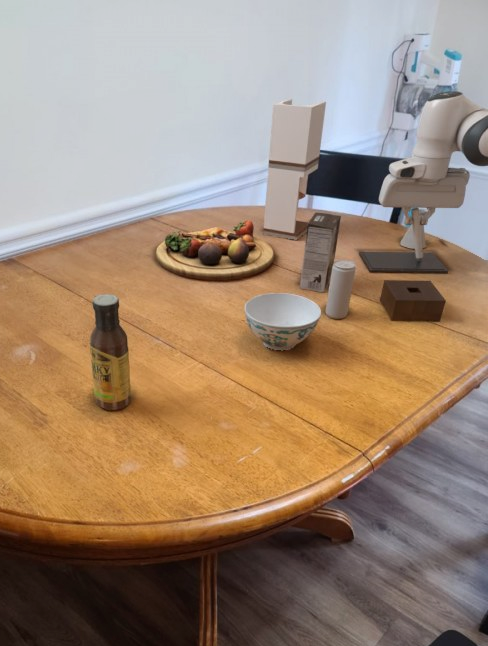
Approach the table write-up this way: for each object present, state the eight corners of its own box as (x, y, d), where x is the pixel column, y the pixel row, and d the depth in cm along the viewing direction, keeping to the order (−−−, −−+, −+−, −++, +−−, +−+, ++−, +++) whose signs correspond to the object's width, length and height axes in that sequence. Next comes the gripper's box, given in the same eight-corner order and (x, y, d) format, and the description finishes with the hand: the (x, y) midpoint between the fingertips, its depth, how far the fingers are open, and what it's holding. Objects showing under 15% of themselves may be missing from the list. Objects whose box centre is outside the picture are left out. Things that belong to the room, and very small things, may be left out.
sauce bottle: (89, 400, 99) (76, 296, 88) (118, 387, 102) (110, 285, 91) (108, 417, 95) (97, 310, 84) (139, 403, 98) (132, 299, 87)
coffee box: (306, 275, 144) (315, 211, 135) (332, 278, 142) (342, 214, 133) (298, 288, 138) (306, 223, 128) (324, 293, 136) (335, 226, 126)
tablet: (431, 255, 156) (432, 251, 155) (447, 273, 145) (448, 270, 145) (358, 254, 156) (359, 251, 156) (369, 272, 146) (370, 269, 145)
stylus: (422, 257, 151) (417, 207, 143) (424, 260, 149) (419, 209, 142) (415, 259, 151) (410, 209, 143) (417, 262, 149) (412, 211, 142)
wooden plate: (229, 231, 172) (231, 203, 167) (298, 265, 149) (301, 235, 145) (135, 251, 158) (134, 221, 153) (195, 292, 136) (195, 259, 131)
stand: (425, 300, 132) (430, 280, 129) (440, 321, 124) (446, 300, 121) (379, 299, 133) (384, 279, 130) (391, 320, 124) (396, 299, 121)
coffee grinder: (296, 240, 165) (311, 107, 145) (263, 234, 169) (273, 104, 149) (310, 229, 173) (326, 101, 153) (277, 224, 177) (289, 98, 157)
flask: (396, 246, 161) (404, 211, 155) (404, 239, 166) (412, 204, 160) (421, 251, 158) (430, 215, 152) (429, 244, 163) (438, 209, 157)
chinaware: (330, 342, 116) (336, 308, 111) (286, 370, 107) (290, 334, 103) (272, 319, 125) (275, 286, 120) (227, 343, 116) (229, 308, 111)
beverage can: (340, 322, 123) (349, 270, 116) (320, 315, 126) (328, 264, 119) (351, 314, 126) (360, 263, 119) (332, 308, 129) (340, 257, 122)
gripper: (467, 164, 139) (451, 220, 147) (383, 164, 139) (372, 219, 147) (476, 171, 134) (460, 228, 142) (389, 170, 134) (378, 227, 142)
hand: (415, 224), depth 145 cm, fingers closed on stylus, 2 cm apart
